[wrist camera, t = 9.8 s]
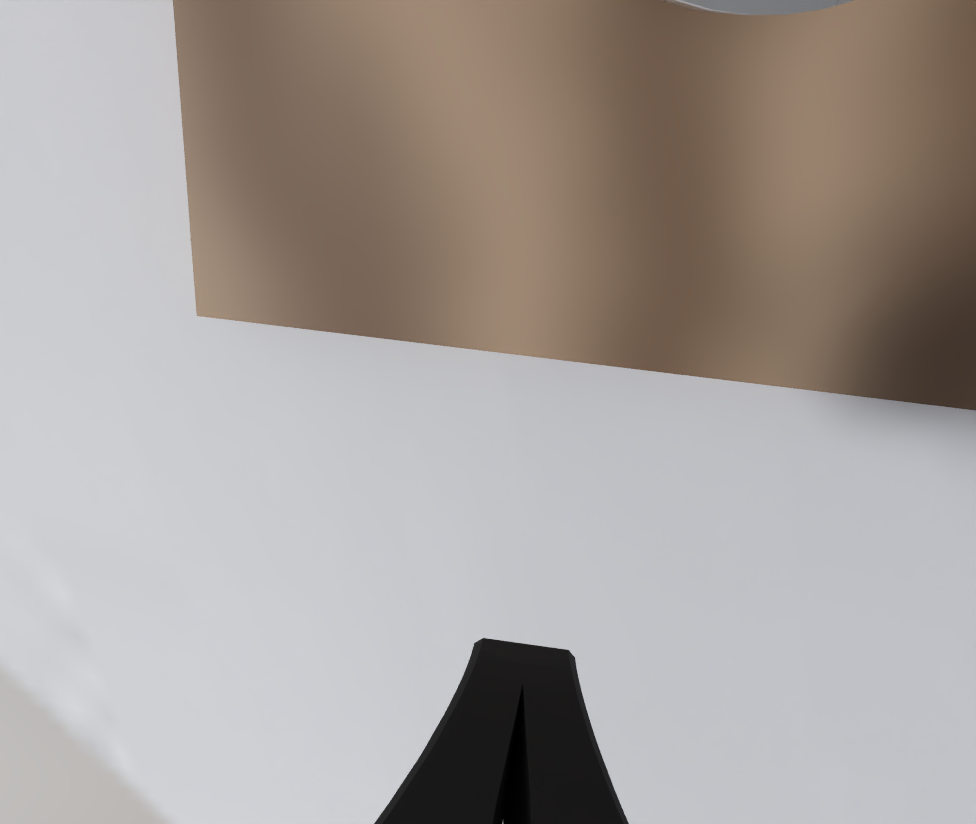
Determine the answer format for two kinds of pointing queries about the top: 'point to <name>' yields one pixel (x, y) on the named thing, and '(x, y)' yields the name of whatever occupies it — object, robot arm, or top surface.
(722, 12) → the crank handle wheel
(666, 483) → the top surface
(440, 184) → the plain tan brown board
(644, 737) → the top surface
